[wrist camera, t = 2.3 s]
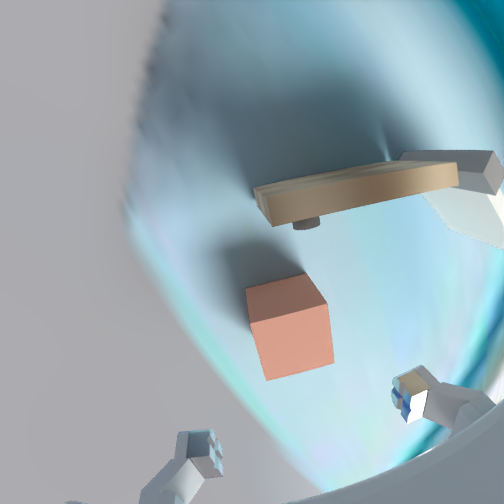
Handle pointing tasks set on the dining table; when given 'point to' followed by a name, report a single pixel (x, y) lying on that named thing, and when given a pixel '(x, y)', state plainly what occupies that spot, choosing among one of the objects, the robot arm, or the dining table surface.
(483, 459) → the robot arm
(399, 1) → the dining table surface
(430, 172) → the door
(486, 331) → the dining table surface
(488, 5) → the dining table surface
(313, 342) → the salmon pink block
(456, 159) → the light grey slab
